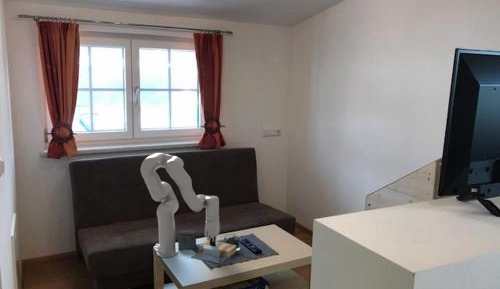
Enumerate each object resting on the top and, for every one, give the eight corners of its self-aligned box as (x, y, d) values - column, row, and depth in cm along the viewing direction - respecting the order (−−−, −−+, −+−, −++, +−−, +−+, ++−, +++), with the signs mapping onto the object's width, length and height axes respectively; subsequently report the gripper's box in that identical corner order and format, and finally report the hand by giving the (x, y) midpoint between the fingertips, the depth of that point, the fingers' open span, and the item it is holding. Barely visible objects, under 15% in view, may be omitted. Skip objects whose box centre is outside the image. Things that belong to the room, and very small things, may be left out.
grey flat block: (207, 251, 232) (205, 254, 230) (204, 244, 229) (202, 247, 227) (220, 254, 228) (218, 257, 226) (218, 247, 225) (216, 250, 223)
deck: (199, 251, 235) (199, 245, 235) (208, 245, 244) (207, 239, 244) (228, 258, 227) (228, 251, 226) (236, 251, 236) (236, 245, 235)
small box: (196, 245, 245) (196, 229, 243) (195, 249, 238) (195, 233, 237) (179, 245, 244) (179, 229, 243) (178, 250, 238) (177, 233, 236)
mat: (190, 257, 227) (190, 257, 227) (199, 251, 235) (199, 251, 235) (220, 264, 219) (220, 263, 219) (228, 258, 227) (228, 257, 227)
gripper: (213, 212, 235) (213, 241, 238) (200, 220, 222) (200, 251, 224) (224, 214, 232) (224, 244, 234) (211, 222, 218) (211, 253, 221)
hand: (212, 247), depth 229 cm, fingers closed
